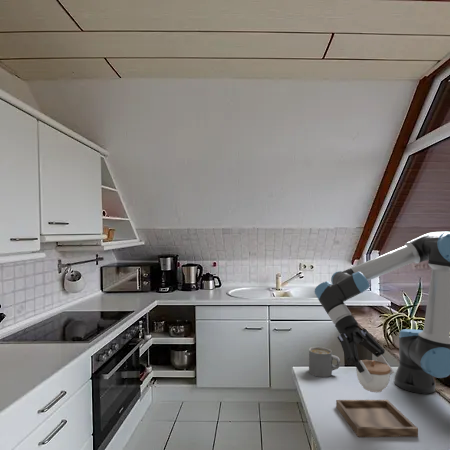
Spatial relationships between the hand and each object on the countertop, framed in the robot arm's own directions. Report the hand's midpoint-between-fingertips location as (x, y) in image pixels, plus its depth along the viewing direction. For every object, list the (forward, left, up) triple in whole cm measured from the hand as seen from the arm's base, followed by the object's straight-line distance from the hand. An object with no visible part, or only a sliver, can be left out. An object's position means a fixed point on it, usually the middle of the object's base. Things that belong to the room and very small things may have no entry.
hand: (380, 377), depth 118 cm
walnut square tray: (+1, -2, -15) cm, 16 cm away
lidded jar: (+2, -3, -5) cm, 6 cm away
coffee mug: (+5, -42, -16) cm, 45 cm away
